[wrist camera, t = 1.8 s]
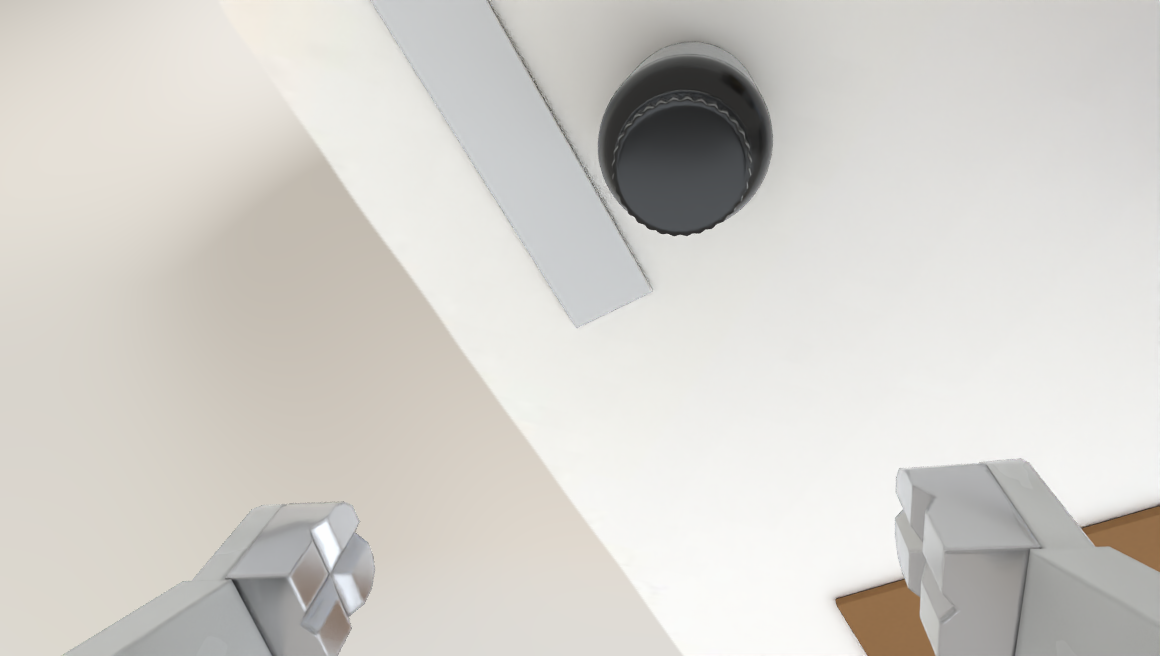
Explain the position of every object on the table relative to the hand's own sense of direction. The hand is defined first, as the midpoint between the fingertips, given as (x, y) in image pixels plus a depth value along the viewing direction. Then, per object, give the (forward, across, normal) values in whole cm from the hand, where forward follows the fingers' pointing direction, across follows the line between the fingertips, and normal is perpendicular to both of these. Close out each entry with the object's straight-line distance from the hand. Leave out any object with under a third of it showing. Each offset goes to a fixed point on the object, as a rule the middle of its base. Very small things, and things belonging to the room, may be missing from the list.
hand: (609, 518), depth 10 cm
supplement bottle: (+27, -2, -2) cm, 28 cm away
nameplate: (+28, +7, -2) cm, 28 cm away
